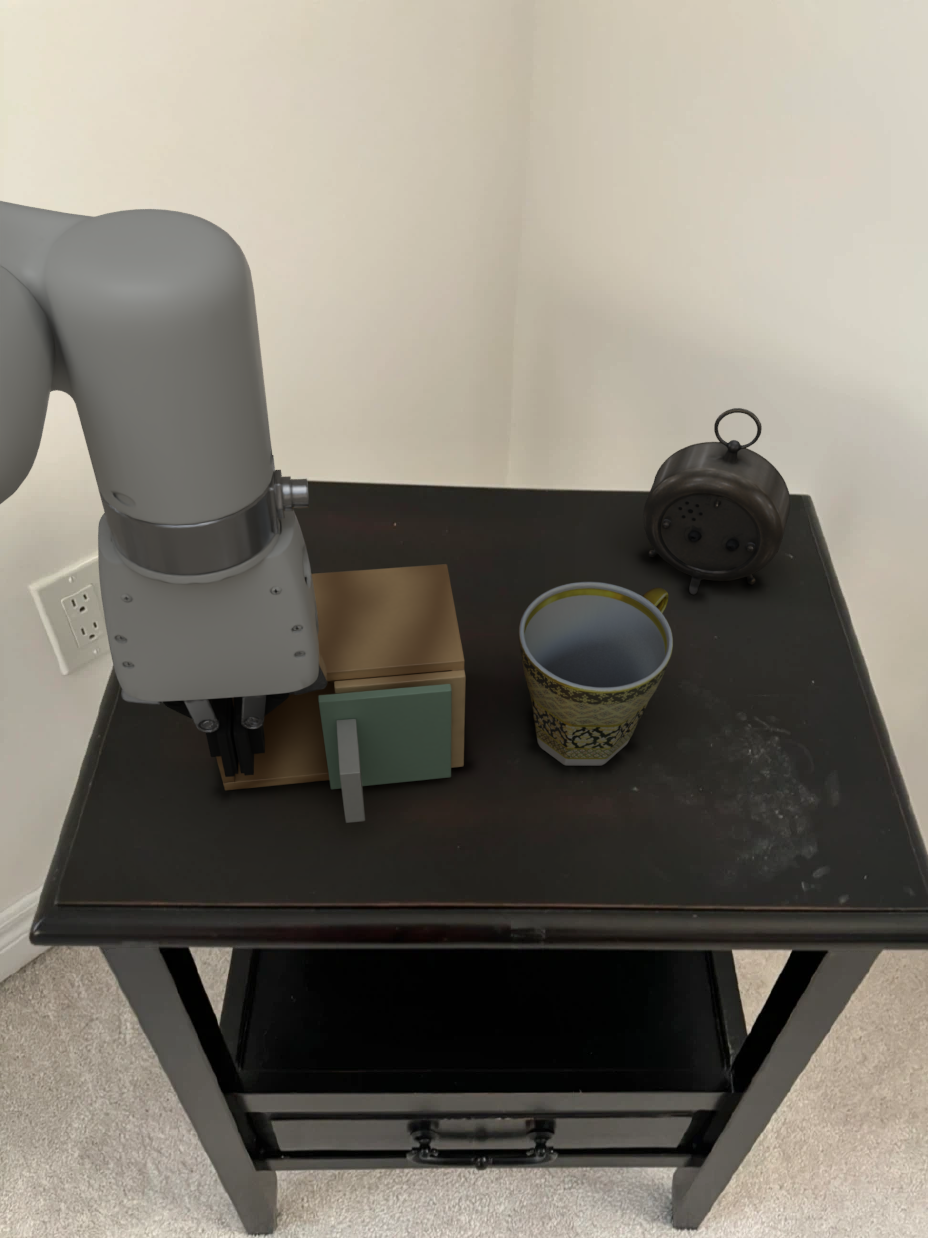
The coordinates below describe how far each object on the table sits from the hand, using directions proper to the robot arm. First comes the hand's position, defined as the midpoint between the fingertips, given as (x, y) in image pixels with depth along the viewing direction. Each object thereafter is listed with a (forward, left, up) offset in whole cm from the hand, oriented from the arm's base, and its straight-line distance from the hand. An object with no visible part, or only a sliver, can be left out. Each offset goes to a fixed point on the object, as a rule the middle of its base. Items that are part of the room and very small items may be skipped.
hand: (240, 756), depth 60 cm
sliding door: (+9, +1, -8) cm, 12 cm away
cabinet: (+6, +9, -9) cm, 13 cm away
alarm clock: (+36, +21, -9) cm, 42 cm away
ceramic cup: (+24, +7, -9) cm, 26 cm away
